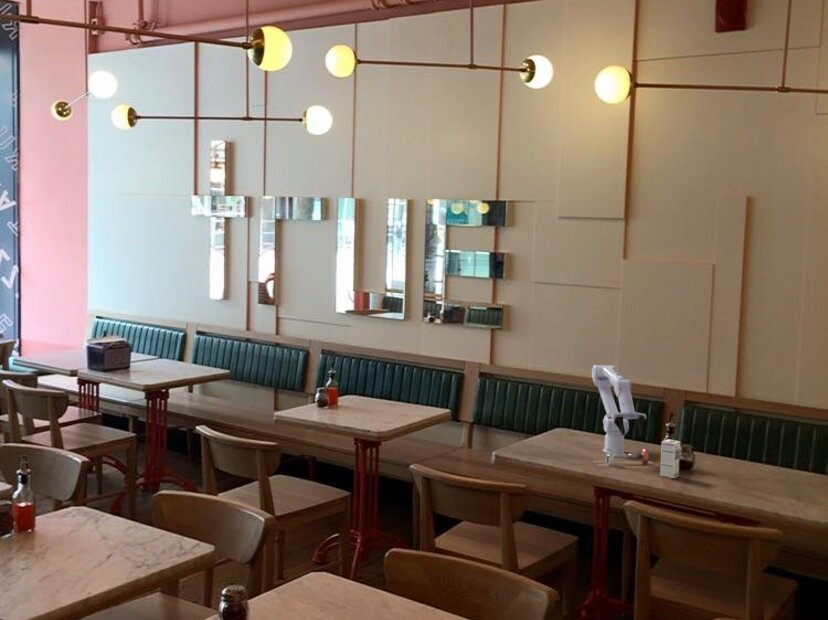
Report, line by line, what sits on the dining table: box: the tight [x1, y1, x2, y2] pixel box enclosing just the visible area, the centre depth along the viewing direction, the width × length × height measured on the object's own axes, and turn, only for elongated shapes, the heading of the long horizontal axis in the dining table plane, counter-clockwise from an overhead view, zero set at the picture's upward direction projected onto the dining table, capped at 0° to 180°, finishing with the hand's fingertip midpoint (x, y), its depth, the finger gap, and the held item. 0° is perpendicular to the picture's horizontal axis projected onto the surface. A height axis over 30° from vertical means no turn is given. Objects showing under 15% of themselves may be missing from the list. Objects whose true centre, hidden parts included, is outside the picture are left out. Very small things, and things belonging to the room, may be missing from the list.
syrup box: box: [659, 439, 681, 479], centre depth 381 cm, size 6×6×14 cm
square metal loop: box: [604, 449, 616, 466], centre depth 395 cm, size 6×3×6 cm, turn 8°
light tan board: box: [591, 459, 660, 469], centre depth 396 cm, size 12×25×1 cm, turn 98°
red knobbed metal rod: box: [605, 448, 650, 464], centre depth 396 cm, size 18×6×6 cm, turn 98°
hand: (632, 434), depth 395 cm, fingers open, 7 cm apart
